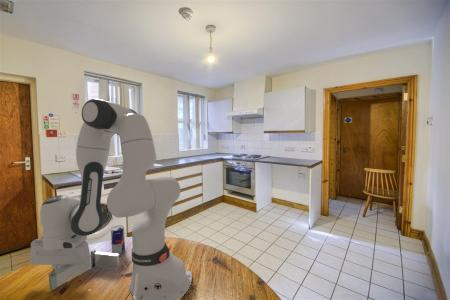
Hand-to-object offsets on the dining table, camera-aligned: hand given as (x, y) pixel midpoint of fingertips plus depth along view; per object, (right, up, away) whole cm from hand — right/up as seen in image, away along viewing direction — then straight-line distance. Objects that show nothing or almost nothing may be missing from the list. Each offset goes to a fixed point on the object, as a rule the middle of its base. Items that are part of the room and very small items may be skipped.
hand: (61, 273), depth 78 cm
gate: (+4, -1, 0) cm, 4 cm away
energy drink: (+13, -1, +17) cm, 21 cm away
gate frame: (+4, -1, +8) cm, 9 cm away
